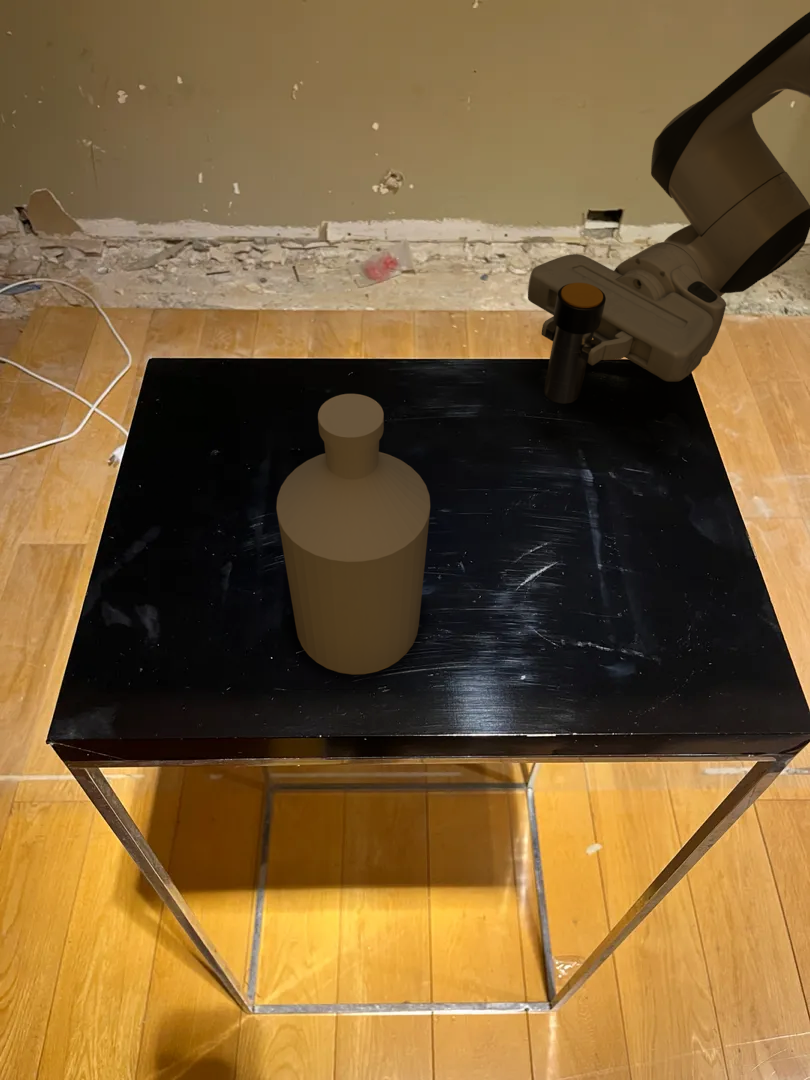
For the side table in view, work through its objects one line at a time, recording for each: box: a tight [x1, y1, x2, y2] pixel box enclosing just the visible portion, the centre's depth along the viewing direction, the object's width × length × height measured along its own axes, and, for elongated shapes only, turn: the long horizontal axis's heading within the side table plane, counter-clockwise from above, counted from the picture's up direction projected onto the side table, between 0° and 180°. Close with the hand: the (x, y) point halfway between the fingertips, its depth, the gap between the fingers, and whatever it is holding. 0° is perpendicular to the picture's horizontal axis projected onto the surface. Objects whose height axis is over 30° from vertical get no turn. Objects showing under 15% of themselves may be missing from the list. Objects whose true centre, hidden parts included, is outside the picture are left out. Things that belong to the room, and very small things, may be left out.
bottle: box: [275, 393, 431, 675], centre depth 67 cm, size 12×12×25 cm
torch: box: [543, 283, 606, 405], centre depth 84 cm, size 5×5×12 cm
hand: (566, 344), depth 83 cm, fingers closed on torch, 4 cm apart
